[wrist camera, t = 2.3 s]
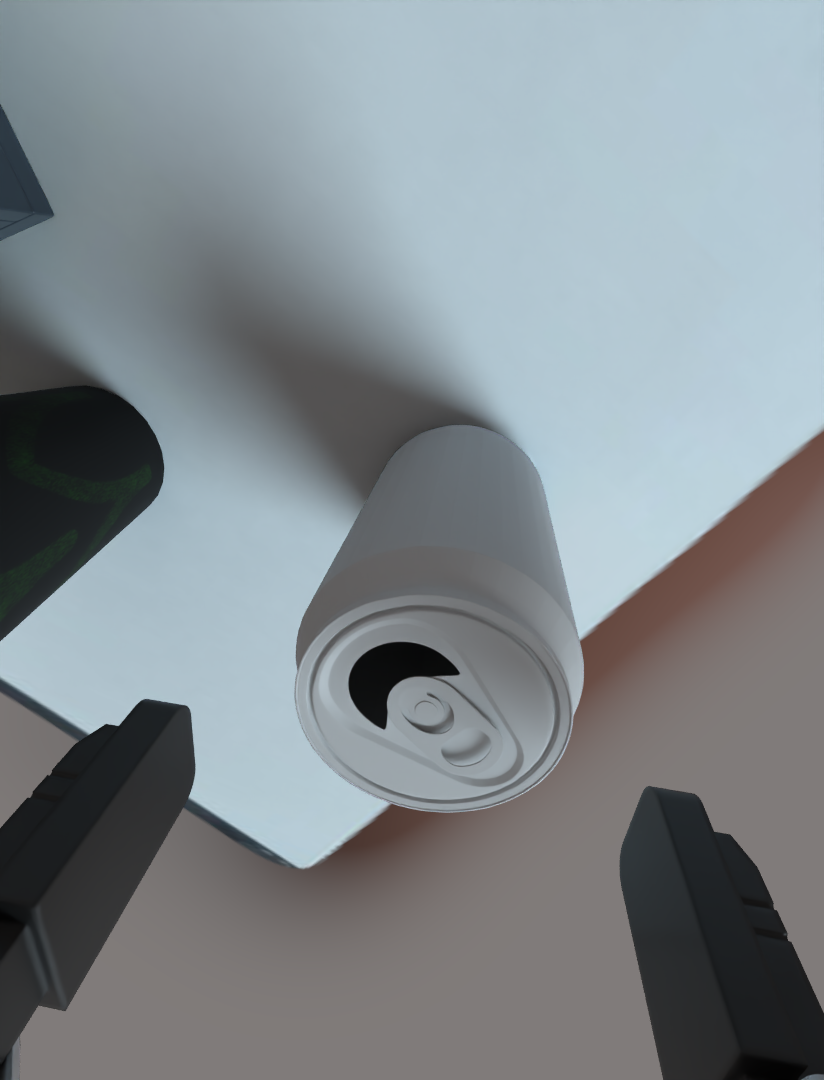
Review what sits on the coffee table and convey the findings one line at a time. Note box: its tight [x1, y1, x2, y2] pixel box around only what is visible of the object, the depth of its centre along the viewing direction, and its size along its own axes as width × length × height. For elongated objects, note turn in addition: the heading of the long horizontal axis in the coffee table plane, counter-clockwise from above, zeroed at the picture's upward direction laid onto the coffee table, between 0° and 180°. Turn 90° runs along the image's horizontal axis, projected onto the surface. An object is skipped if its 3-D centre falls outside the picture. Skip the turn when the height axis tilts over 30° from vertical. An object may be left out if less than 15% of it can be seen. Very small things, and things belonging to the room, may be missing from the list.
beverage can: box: [295, 425, 584, 812], centre depth 17 cm, size 6×6×12 cm
